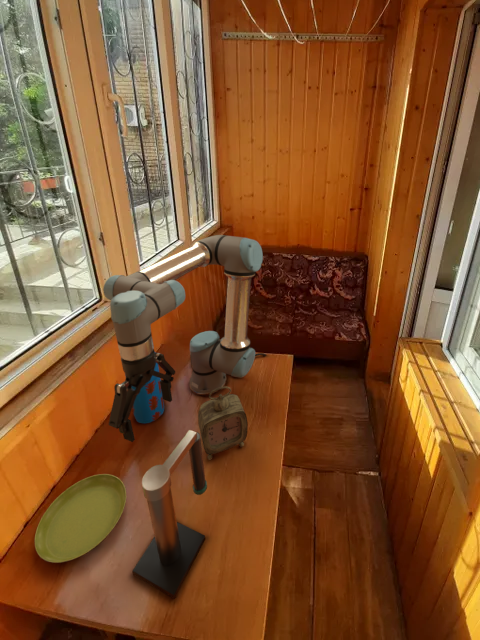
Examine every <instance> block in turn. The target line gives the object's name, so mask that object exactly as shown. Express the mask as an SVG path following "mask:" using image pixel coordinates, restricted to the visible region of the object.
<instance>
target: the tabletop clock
mask: <svg viewBox="0 0 480 640" xmlns="http://www.w3.org/2000/svg"><path fill="white" fill-rule="evenodd" d="M220 389H221V390H224V389H225V390H226V389H227V390H229V391H228V392H227V393H225V394H222V393H220V394H218V396H217V397H212V395H213V394H212V393H214V392H215V391H218V390H220ZM221 390H220V391H221ZM211 394H212V395H211ZM208 398H209V400H206V401H204V402H203V403H201V405H200V407H199V408H198V412H197V413H198V414H197V425H198V429H199V434H200V438H201V443H202V446H203V450H204V452H205V454H207V458H206V459H207V460H209V461H211V460H212V459H213V455H215V454H218V453H220V452H224V451H228V450H229V449H231V448H234V447H236V446H238V445H239V447H240V448H243V447H244V446H245V442H244V441H246V439H247V437H248V428H249V427H248V426H249V424H248V417H247V414H246V412H245V410H244V407H243V404H242V402H241V399H240V397H239V396H238V394H234V393H232V388H231V387H230V386H226V385H225V386H224V387H219V388H217V389H214V390H213V391H212V392H211V393H210V394H209V395H208Z"/></svg>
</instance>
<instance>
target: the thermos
mask: <svg viewBox="0 0 480 640" xmlns="http://www.w3.org/2000/svg"><path fill="white" fill-rule="evenodd" d="M154 371H157V372H160V366H159V365H158V364H157V363H156V365H155V368H154ZM124 376H125V377H126V374H125V373H124ZM161 380H162V378H159V377H156V376H153V375H152V377H151V380H150V381H149V382H147V383H146V384H145V385H144V386H143V387H142V388H141V390H140V393H139V394H137V396H136V399H135V401H134V404H133V407H132V410H131V411H132V413H133V416H134V419H135V421H136V422H137V423H139V424H150V423H152V422H154V421H157V420H158V419H159V418H160V417H161V416H162V415H163V414H164V412H165V400H163V397H162V391H161V385H160V381H161ZM131 388H132V389H134V390H135V389H136V387H133V386H132V387H131Z"/></svg>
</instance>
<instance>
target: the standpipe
mask: <svg viewBox="0 0 480 640" xmlns="http://www.w3.org/2000/svg"><path fill="white" fill-rule="evenodd" d="M146 502H147V506H148V511H149V516H150V520H151V526H152V530H153V535H154V537H153V538H152V540H151V541H150V543H149V544H148V546H147V547H146V549H145V551H143V553H142V555H141V557H140V558H139V559H138V561H137V563H136V565H134V568H133V569H132V575H133V576H135V577H136V578H138V579H140V580H142V581H143V582H145V583H146V584H149V585H150V586H152V587H153V588H156V589H157V590H158V591H160V592H162V593H164V594H165V595H167V596H168V597H171V598H173V599H174V600H175V599H176V597H177V595H178V593H179V591H180V590H181V588H182V586H183V584H184V582H185V580H186V579H187V575H188V574H189V572H190V570H191V569H192V566H193V565H194V563H195V560H196V559H197V556H198V555H199V553H200V551H201V549H202V547H203V545H204V543H205V541H206V535H204V534H203V533H201V532H199V531H197V530H195V529H193V528H191V527H188V526H187V525H184V524H182V523H181V522H179V521H177V515H176V511H175V505H174V498H173V493H172V488H170V490H169V492H168V493H167V494H166V495H165V496H164V497H163V498H162V499H160V500H157V501H149V500H147V499H146Z"/></svg>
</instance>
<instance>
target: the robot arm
mask: <svg viewBox="0 0 480 640" xmlns="http://www.w3.org/2000/svg"><path fill="white" fill-rule="evenodd" d="M263 259H264V256H263V249H262V245H261V244H260V243H259V241H257V240H256V239H252V238H248V237H244V236H243V237H242V236H235V235H234V236H233V235H225V234H217V235H211V236H208V237H204V238H201V239H199V240H197V241H195V242H192V243H191V244H190V245H189V247H188V248H186V249H184V250H182V251H179V252H177V253H175V254H172V255H171V256H168V257H166V258H164V259H162V260H160V261H157V262H155V263H153V264H150V265H149V266H146V267H144V268H141V269H140V270H137V271H135V272H133V273H130V274H128V275H126V276H125V275H124V274H114V275H112V276H110V277H108V279H106V280H105V282H104V284H103V289H102V290H103V295H104V297H105V299H107V300H108V301H110V302H109V309H110V318H111V321H112V325H113V328H114V333H115V338H116V342H117V347H118V353H119V356H120V361H121V367H122V370H123V372H124V375H125V374H126V376H125V379H124V381H122V382H121V383H118V382H117V383H116V384H114V388H113V389H114V396H113V401H112V405H111V409H110V410H111V411H110V414H109V420H108V426H110V427H112V428H114V429H116V430H118V431H119V433H120V434H122V435H123V439H124V440H126V441H129V442H130V443H134V441H135V440H136V438H135V434H134V430H133V425H132V420H131V419H130V418H129V417H130V415H131V412H132V411H133V410H132V407H133V404H134V401H135V399H136V396H137V394H139V393H140V390H141V388H142V387H143V386H144V385H145V384H146V383H147V382H149V381H150V380H151V377H152V375H153V376H156V377H159V378H160V379H161V381H160V385H161V391H162V397H163V400H164V401H166V402H169V403H171V402H172V401H173V397H172V382H173V381H174V380H175V378H174V375H176V370H175V369H174V368H173V366H172V365H171V364H170V363H169V362H168V361H167V360H166V358H165V355H164V354H163V353H160V352H156V351H155V349H154V348H155V347H154V346H155V345H154V340H153V334H152V326H151V325H152V324H154V323H155V322H156V321H158V320H159V319H161V318H163V317H164V316H166V315H168V314H169V313H171V312H172V311H174V310H176V309H177V308H178V307H179V306H180V305H182V304H183V303H184V302H185V300H186V291H185V288H184V286H183V285H182V284H181V282H179V281H178V280H177V279H180V278H181V277H184V276H185V275H187V274H189V273H190V272H192V271H194V270H196V269H197V268H205V267H207V266H209V265H214V266H215V265H217V266H222V267H224V270H223V271H224V272H223V274H224V275H225V276H226V277H227V288H226V304H225V305H226V307H225V322H224V323H225V324H224V335H223V337H221V339H220V334H219V333H218V332H217V331H214V330H205V331H202V332H199V333H197V334H195V335H194V336H193V337H192V338H191V339H190V341H189V356H190V355H191V358H190V363H191V362H192V366H191V369H192V371H191V375H190V378H189V389H190V391H191V392H192V393H193V394H194V395H197V396H201V397H209V394H210V393H211V392H212V391H213V390H214V389H217V388H219V387H224V386H226V384H227V375H229V376H231V377H234V376H235V377H234V378H238V379H239V378H241V379H242V378H244V377H245V376H246V375H248V374H249V372H250V370H251V369H252V367H253V365H254V361H255V358H256V357H258V356H264V357H267V356H268V355H267V354H266V353H264V352H259V353H256V350H255V348H253V347H251V339H250V338H249V337H248V325H249V314H250V313H249V312H250V300H251V299H250V298H251V283H252V278H254V277H255V276H256V272H258V271H259V270H260V269H261V267H262V264H263ZM156 363H157V364H158V367H159V368H161V369H162V370H163V371H164V372H165V373H162V372H160V371H159V372H157V371H154V368H155V365H156ZM132 386H133V387H136V389H135V390H134V389H132V388H131V387H132ZM220 391H222V389H220V390H218V391H215V392H214V393H212V394H211V396H212V395H215V394H217V393H219V392H220Z"/></svg>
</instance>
